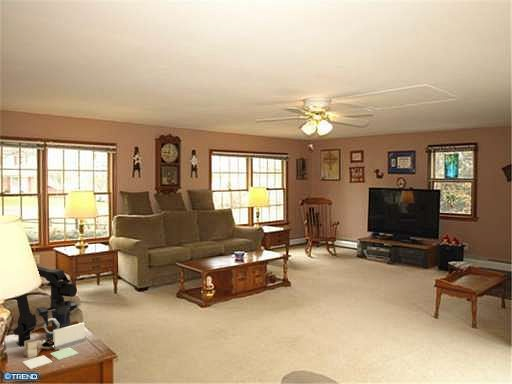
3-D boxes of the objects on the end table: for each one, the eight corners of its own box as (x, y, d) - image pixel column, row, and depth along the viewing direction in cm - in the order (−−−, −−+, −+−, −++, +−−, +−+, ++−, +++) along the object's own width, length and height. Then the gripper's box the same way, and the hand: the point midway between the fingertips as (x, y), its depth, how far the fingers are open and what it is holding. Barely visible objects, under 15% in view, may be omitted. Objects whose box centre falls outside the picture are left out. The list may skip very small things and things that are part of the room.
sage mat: (50, 354, 211) (50, 353, 211) (69, 348, 219) (69, 347, 218) (58, 360, 204) (58, 359, 204) (78, 353, 212) (78, 352, 212)
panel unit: (46, 343, 224) (45, 325, 224) (75, 334, 236) (75, 318, 236) (55, 349, 216) (55, 331, 216) (85, 340, 228) (85, 323, 228)
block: (24, 354, 210) (24, 341, 210) (33, 352, 213) (32, 338, 213) (28, 357, 207) (28, 343, 206) (36, 355, 210) (36, 341, 209)
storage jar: (66, 325, 251) (66, 300, 250) (73, 329, 244) (73, 304, 243) (49, 329, 244) (48, 304, 243) (55, 334, 237) (55, 308, 236)
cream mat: (22, 362, 201) (22, 361, 201) (43, 355, 209) (43, 355, 209) (30, 369, 195) (30, 368, 195) (52, 362, 202) (52, 361, 202)
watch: (61, 337, 232) (61, 318, 231) (45, 341, 226) (45, 321, 226) (57, 334, 236) (57, 315, 235) (42, 338, 230) (42, 319, 230)
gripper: (43, 302, 204) (43, 333, 205) (81, 294, 218) (81, 324, 218) (35, 297, 212) (35, 327, 213) (72, 290, 225) (72, 318, 226)
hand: (56, 324), depth 217 cm, fingers open, 9 cm apart
